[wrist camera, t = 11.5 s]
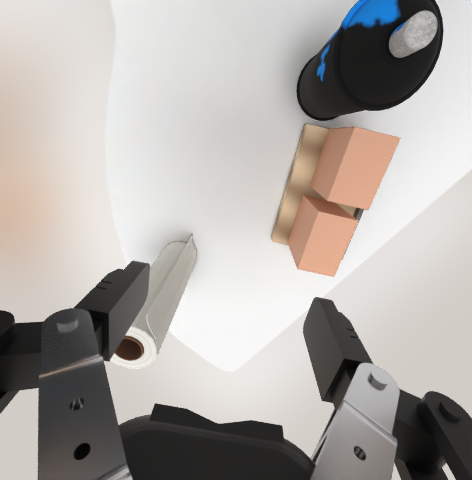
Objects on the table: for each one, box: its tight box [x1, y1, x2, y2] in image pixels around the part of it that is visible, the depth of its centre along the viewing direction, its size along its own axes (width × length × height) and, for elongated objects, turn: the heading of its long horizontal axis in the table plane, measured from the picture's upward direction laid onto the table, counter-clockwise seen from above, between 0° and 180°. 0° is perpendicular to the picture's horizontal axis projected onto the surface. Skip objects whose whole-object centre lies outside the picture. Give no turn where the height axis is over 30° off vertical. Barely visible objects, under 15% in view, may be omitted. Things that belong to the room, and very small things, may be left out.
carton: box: [288, 195, 359, 277], centre depth 35 cm, size 8×5×9 cm, turn 168°
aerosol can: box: [297, 0, 443, 121], centre depth 25 cm, size 8×8×20 cm
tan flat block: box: [271, 124, 364, 259], centre depth 38 cm, size 18×12×3 cm, turn 168°
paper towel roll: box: [110, 234, 196, 369], centre depth 35 cm, size 7×6×21 cm
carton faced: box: [310, 127, 400, 210], centre depth 31 cm, size 8×5×9 cm, turn 168°
